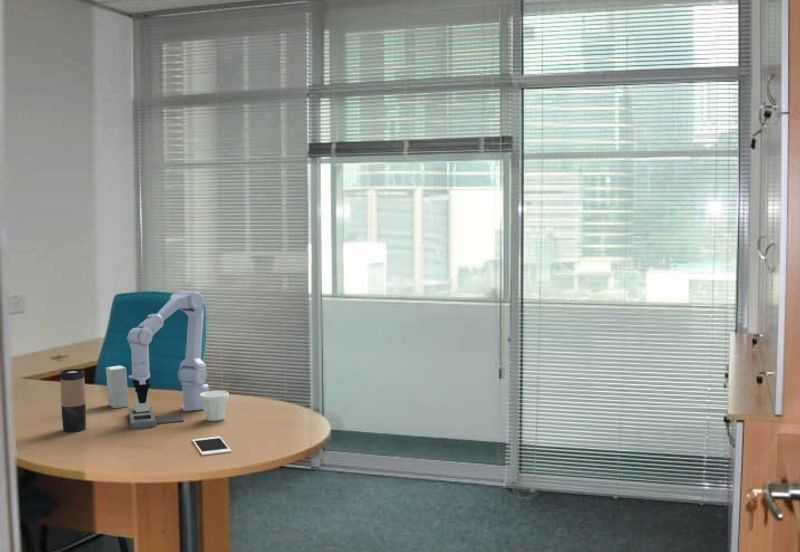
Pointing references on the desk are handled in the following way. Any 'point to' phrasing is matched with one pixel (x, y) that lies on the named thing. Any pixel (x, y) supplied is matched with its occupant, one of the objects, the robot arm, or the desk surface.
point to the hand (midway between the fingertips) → (142, 401)
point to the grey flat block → (141, 418)
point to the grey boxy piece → (141, 406)
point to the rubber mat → (169, 419)
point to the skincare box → (117, 386)
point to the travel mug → (73, 400)
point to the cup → (214, 404)
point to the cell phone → (211, 446)
